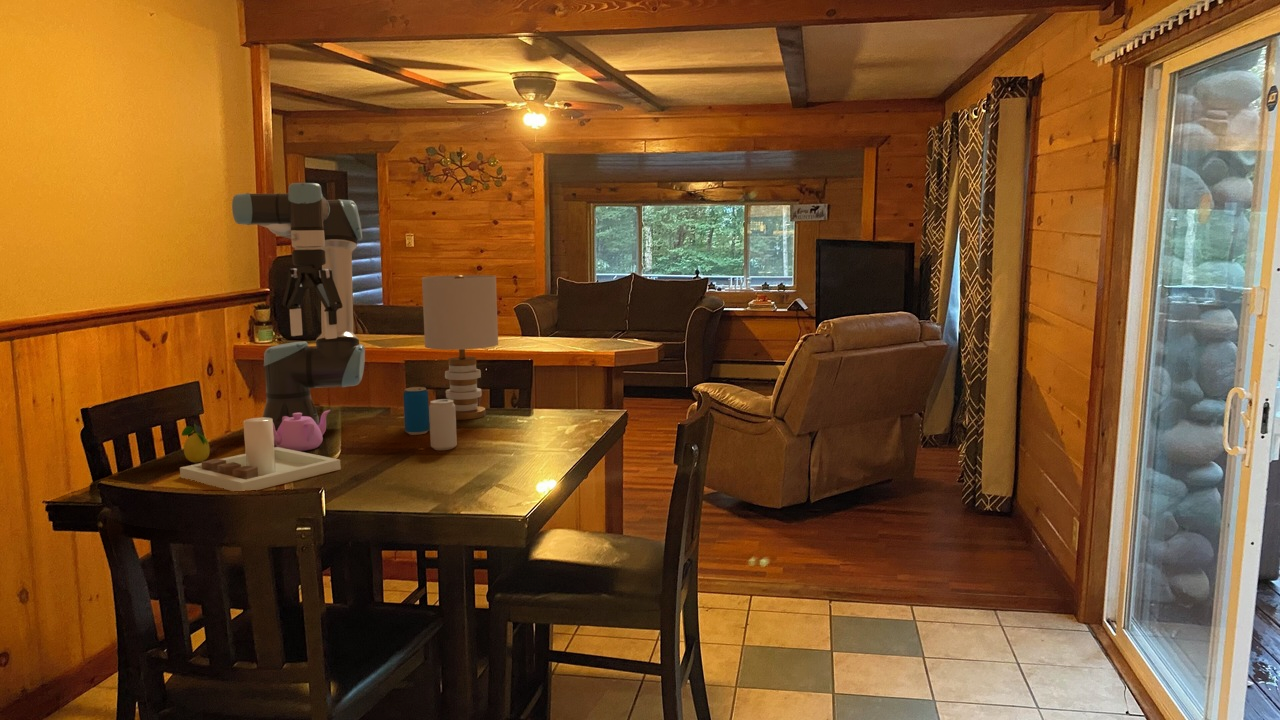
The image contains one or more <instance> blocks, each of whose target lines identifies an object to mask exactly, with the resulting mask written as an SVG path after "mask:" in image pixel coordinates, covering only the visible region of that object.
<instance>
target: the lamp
mask: <svg viewBox="0 0 1280 720" xmlns="http://www.w3.org/2000/svg"><path fill="white" fill-rule="evenodd" d="M421 282H422V283H421V287H422V288H421V289H422V307H423V308H422V309H423V328H424V329H423V331H424V332H423V333H424V335H423V336H424V348H425V349H426V348H427V349H430V350H440V351H441V350H443V351H444V350H448V351H453V350H454V351H455V350H456V351H457V350H458V353H459V354H458V356H457V357H456V356H455V357H450V358H448V362H447V363H448V370H445V371H444V378H445V379H446V380H448V381H449V382H448V383H449V389H446V390H445V399H451V400H453V403H454V404H455V413H456V421H457V420H458V421H459V420H475V419H480V418H483V417H485V416H486V407H484V406H478V403H479V399H478V398H481V397H482V388H479V387H478V379H479V378H480V379H481V378H482V376H481V375H482V372H481V371H482V370H481V369H478V368H477V357H474V356H466V350H477V349H486V348H492V347H495V346H496V347H497V346H498V345H499V330H498V329H499V328H498V325H499V324H498V305H497V304H498V302H497V301H498V299H497V276H496V275H489V274H488V275H486V274H485V275H484V274H482V275H481V274H472V275H471V274H468V275H467V274H464V275H461V274H459V275H457V274H456V275H455V274H454V275H438V276H437V275H434V276H425V277H424V276H423V277H421Z"/></svg>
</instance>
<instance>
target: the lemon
mask: <svg viewBox="0 0 1280 720" xmlns="http://www.w3.org/2000/svg"><path fill="white" fill-rule="evenodd" d="M196 424H197V423H194V424H193V425H194V426H190V425H187V426H185V427H184V428H183V429H182V432H181V436H183V437H184V436H185V437H186V436H188V437H187V438H186V439H185V441H184V444H183V454H184V457H185V459H186V460H188V462H191V463H193V464H199V463H201V462H204V461H207V459H208V458H209V456H210V453H211V452H210V451H211V449H210V443H209V442H208V439H207V438H206V437H205V436H204V435H203V434H202V433H201V432H199V431H197V430H196V428H197V427H196Z"/></svg>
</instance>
